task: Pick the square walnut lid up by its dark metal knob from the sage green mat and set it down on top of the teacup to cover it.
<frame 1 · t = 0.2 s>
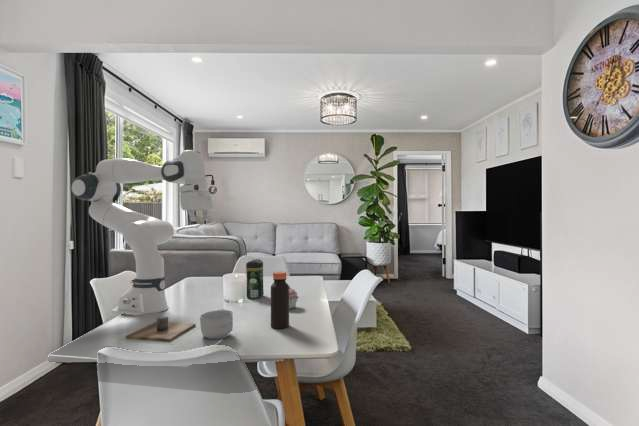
hand: (199, 221, 153), 39 cm above the table, tool pointing down, fingers open, 8 cm apart
bottle: (279, 327, 135), on the table
mat: (162, 333, 127), on the table
teacup: (218, 336, 125), on the table
lid: (162, 332, 127), resting on mat
cupcake: (288, 308, 161), on the table
coffee jar: (254, 297, 182), on the table
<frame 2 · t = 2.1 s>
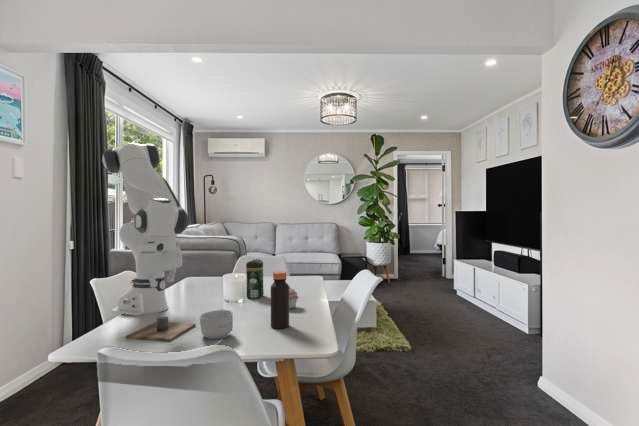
hand: (162, 284, 127), 17 cm above the table, tool pointing down, fingers open, 8 cm apart
nothing on the table moved.
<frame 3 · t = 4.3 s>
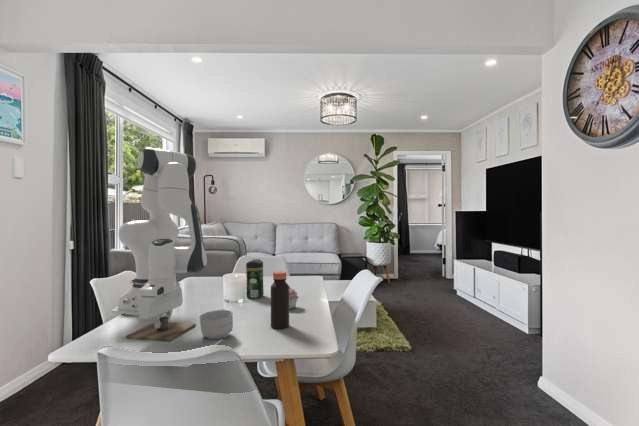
hand: (162, 325, 127), 3 cm above the table, tool pointing down, fingers closed on lid, 4 cm apart
lid: (162, 332, 127), resting on mat, touching gripper
everything else where it was.
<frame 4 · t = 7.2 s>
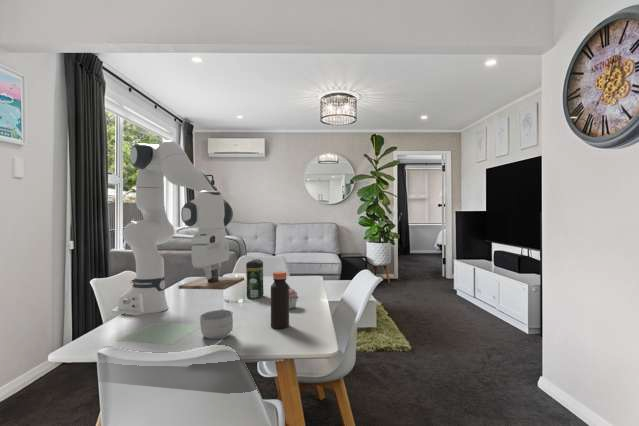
hand: (212, 277, 125), 20 cm above the table, tool pointing down, fingers closed on lid, 4 cm apart
lid: (213, 284, 125), point 18 cm above the table, touching gripper
everything else where it was.
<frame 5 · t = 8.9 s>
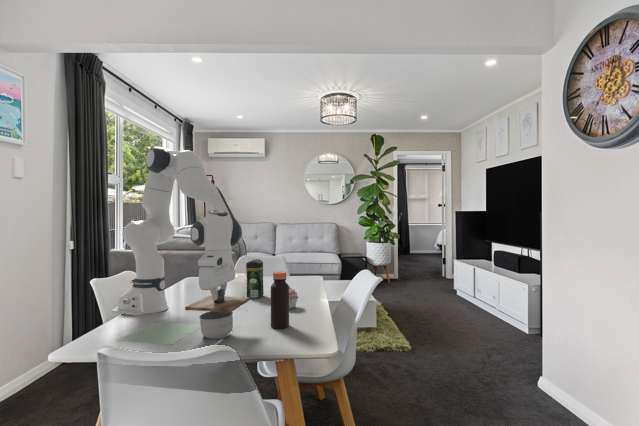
hand: (218, 297, 125), 13 cm above the table, tool pointing down, fingers closed on lid, 4 cm apart
lid: (219, 304, 125), point 10 cm above the table, touching gripper
everything else where it was.
when the fingers open (12 cm above the table, at t = 10.2 s): lid drops 2 cm, resting on teacup.
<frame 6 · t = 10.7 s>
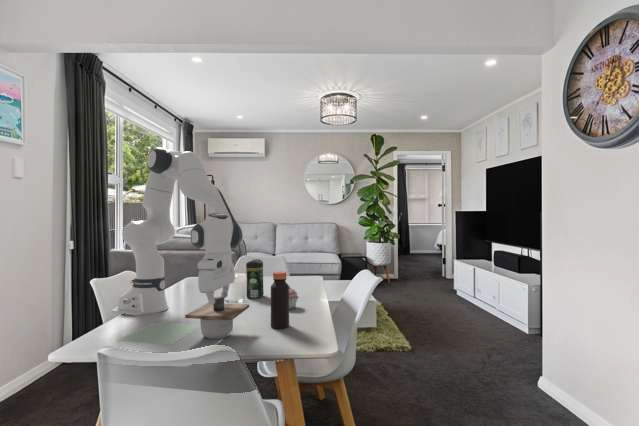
hand: (218, 300, 125), 12 cm above the table, tool pointing down, fingers open, 8 cm apart
teacup: (218, 336, 125), on the table, touching lid
lid: (218, 312, 125), point 8 cm above the table, touching teacup
everything else where it was.
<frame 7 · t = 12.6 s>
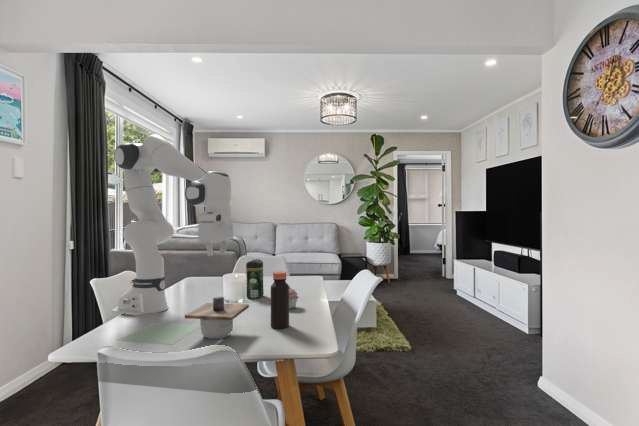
hand: (216, 254, 132), 27 cm above the table, tool pointing down, fingers open, 8 cm apart
nothing on the table moved.
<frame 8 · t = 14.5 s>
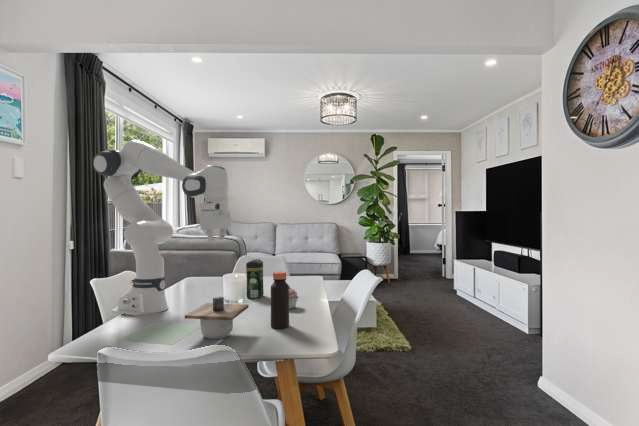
hand: (216, 240, 145), 31 cm above the table, tool pointing down, fingers open, 8 cm apart
nothing on the table moved.
at the end: lid 0.3 cm from the teacup (horizontally); lid point 7.9 cm above the table; teacup tilted 0° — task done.
